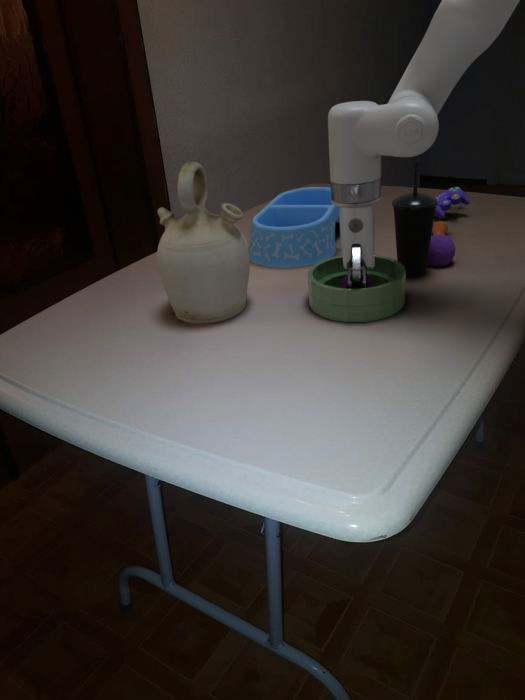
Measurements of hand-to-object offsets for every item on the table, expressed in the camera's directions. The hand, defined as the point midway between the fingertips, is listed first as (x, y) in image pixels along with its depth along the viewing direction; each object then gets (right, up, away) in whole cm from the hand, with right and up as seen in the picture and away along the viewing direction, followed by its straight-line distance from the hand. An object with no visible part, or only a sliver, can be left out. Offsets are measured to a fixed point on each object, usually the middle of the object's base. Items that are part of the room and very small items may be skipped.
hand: (357, 296), depth 93 cm
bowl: (0, -1, +1) cm, 1 cm away
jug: (-25, -2, +4) cm, 25 cm away
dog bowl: (-7, +15, +31) cm, 35 cm away
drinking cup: (+12, +5, +9) cm, 16 cm away
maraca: (+19, +10, +18) cm, 28 cm away
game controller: (+27, +22, +38) cm, 51 cm away
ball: (0, +1, -1) cm, 2 cm away
